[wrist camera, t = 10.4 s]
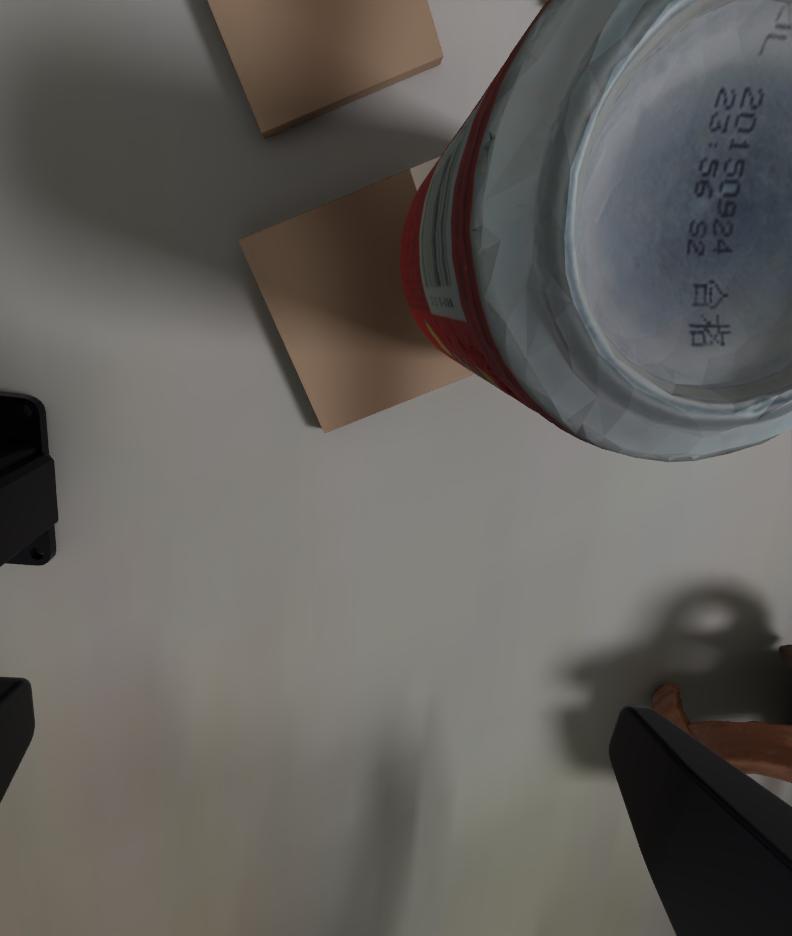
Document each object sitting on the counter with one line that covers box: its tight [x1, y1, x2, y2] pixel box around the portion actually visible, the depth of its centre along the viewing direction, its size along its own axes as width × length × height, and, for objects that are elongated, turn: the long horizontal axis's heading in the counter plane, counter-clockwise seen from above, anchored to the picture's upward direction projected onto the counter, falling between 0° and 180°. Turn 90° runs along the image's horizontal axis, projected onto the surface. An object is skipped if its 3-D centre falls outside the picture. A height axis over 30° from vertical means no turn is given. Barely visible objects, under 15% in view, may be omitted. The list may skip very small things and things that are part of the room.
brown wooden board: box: [238, 156, 475, 433], centre depth 18 cm, size 16×7×1 cm, turn 111°
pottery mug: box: [652, 645, 792, 783], centre depth 23 cm, size 12×10×8 cm
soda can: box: [400, 0, 792, 462], centre depth 12 cm, size 7×7×12 cm
